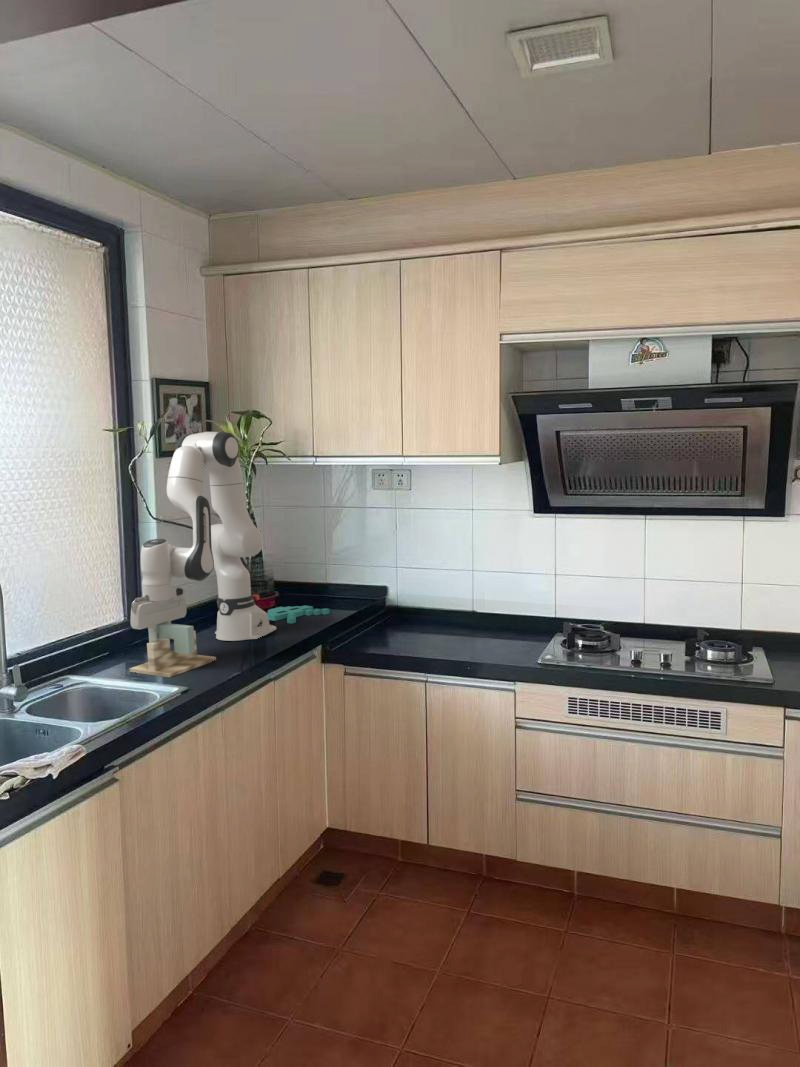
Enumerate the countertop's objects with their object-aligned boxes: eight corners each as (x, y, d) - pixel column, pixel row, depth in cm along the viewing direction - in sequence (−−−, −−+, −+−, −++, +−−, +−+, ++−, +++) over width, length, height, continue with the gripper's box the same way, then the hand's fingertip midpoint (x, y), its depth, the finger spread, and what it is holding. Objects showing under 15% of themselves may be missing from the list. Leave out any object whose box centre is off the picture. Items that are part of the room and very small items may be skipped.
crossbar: (194, 652, 252) (193, 626, 251) (189, 654, 250) (187, 627, 249) (155, 647, 260) (154, 621, 259) (149, 649, 258) (147, 623, 257)
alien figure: (329, 614, 324) (293, 609, 336) (329, 609, 323) (293, 603, 336) (291, 624, 308) (255, 618, 321) (291, 618, 308) (254, 613, 321)
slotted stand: (177, 655, 268) (175, 627, 267) (216, 660, 261) (214, 631, 260) (129, 671, 251) (127, 642, 250) (169, 677, 243) (167, 647, 242)
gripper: (139, 599, 245) (142, 646, 246) (188, 588, 262) (191, 631, 264) (123, 598, 248) (126, 644, 249) (173, 586, 265) (176, 629, 267)
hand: (160, 637), depth 257 cm, fingers closed on crossbar, 2 cm apart
